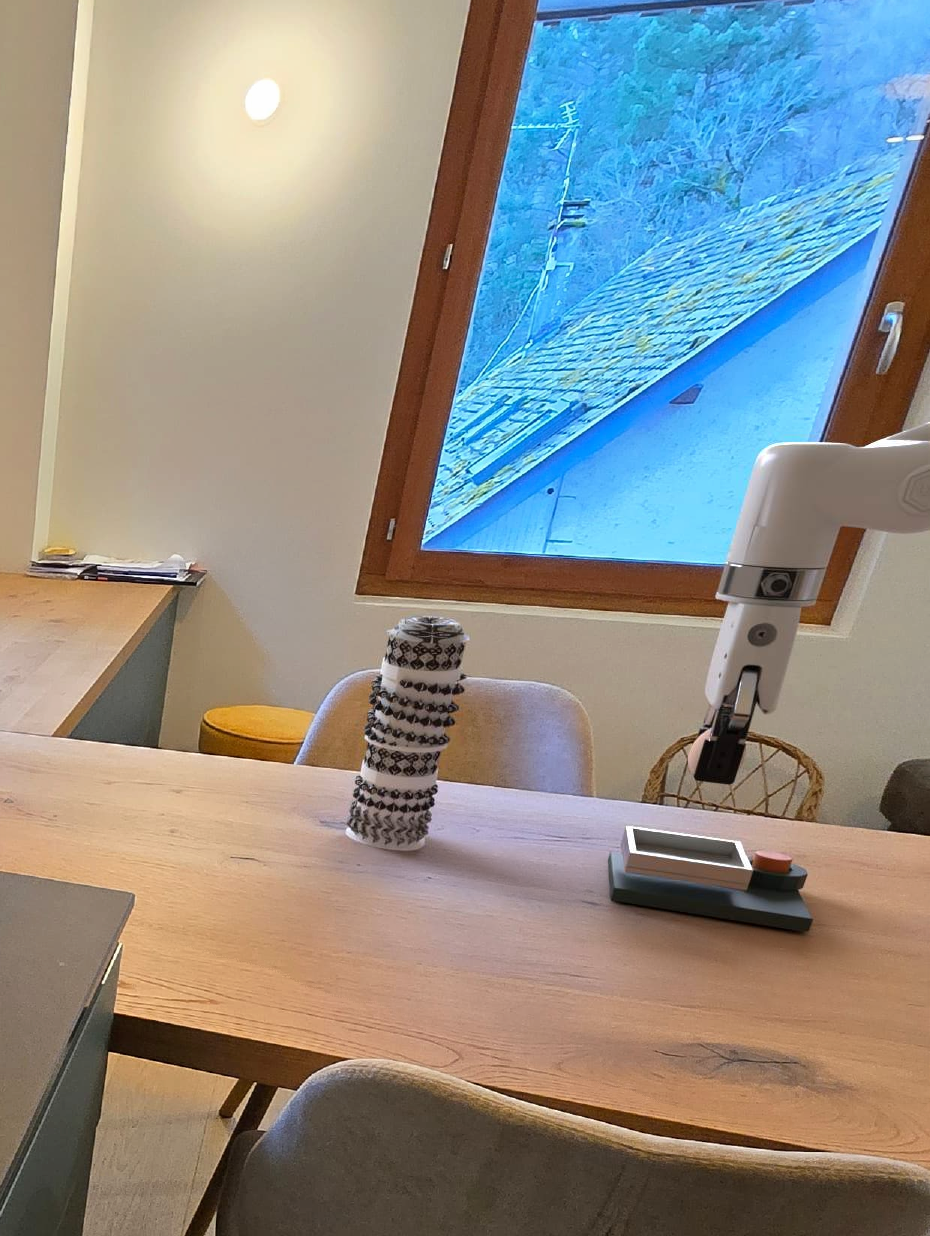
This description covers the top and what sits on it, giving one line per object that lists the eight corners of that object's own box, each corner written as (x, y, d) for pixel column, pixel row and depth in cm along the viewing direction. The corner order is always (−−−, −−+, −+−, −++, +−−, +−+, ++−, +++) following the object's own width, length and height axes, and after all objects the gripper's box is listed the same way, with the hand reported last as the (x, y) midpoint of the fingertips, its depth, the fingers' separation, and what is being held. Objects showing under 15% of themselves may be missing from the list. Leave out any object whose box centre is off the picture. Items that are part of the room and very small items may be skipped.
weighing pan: (734, 860, 123) (741, 841, 122) (746, 890, 115) (753, 870, 114) (620, 844, 128) (625, 825, 127) (624, 872, 120) (630, 852, 119)
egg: (711, 790, 116) (730, 734, 113) (670, 776, 120) (687, 721, 117) (746, 786, 117) (766, 729, 114) (704, 772, 121) (722, 717, 118)
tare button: (785, 867, 122) (790, 853, 122) (790, 876, 120) (795, 862, 119) (749, 862, 124) (754, 848, 123) (753, 871, 121) (758, 856, 121)
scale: (792, 890, 124) (802, 862, 123) (814, 933, 113) (825, 904, 112) (606, 862, 131) (614, 836, 130) (610, 900, 121) (618, 872, 120)
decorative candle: (446, 843, 136) (499, 622, 125) (394, 860, 132) (443, 633, 121) (376, 819, 143) (420, 608, 132) (324, 834, 139) (365, 617, 128)
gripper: (836, 598, 102) (768, 803, 109) (804, 579, 116) (746, 762, 123) (729, 592, 106) (670, 790, 113) (711, 574, 119) (659, 752, 126)
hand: (710, 773), depth 118 cm, fingers closed on egg, 4 cm apart
